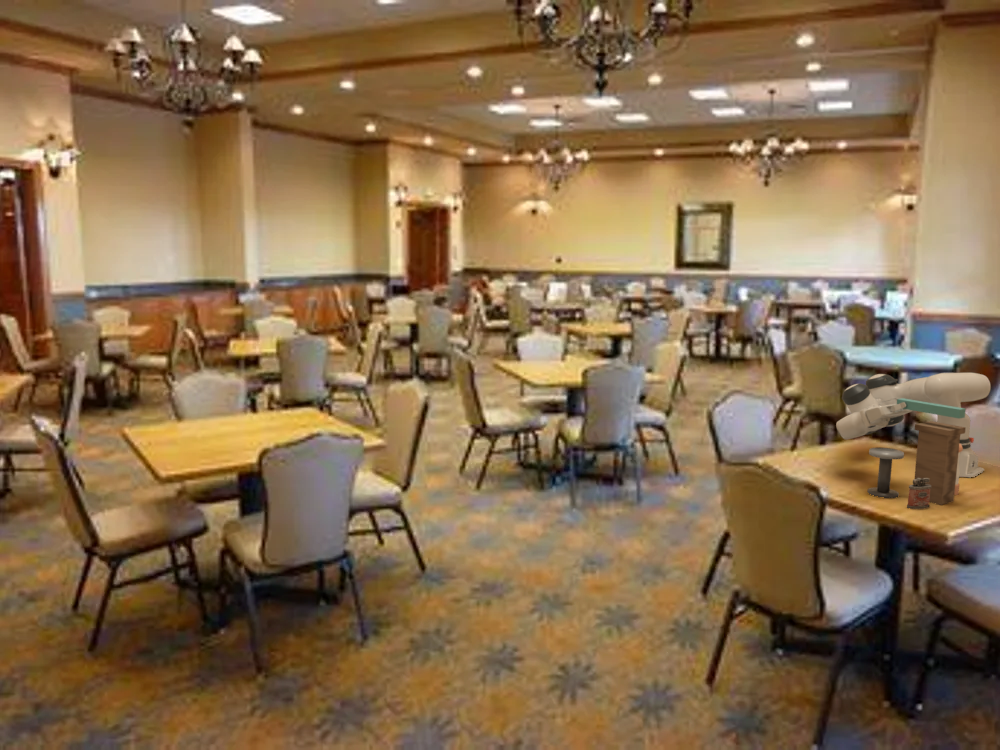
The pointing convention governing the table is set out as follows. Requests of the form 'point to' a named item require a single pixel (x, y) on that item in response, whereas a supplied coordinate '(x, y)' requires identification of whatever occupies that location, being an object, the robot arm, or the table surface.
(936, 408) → the rod
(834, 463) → the table surface
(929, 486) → the lighter
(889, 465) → the cake stand
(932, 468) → the tall stand
